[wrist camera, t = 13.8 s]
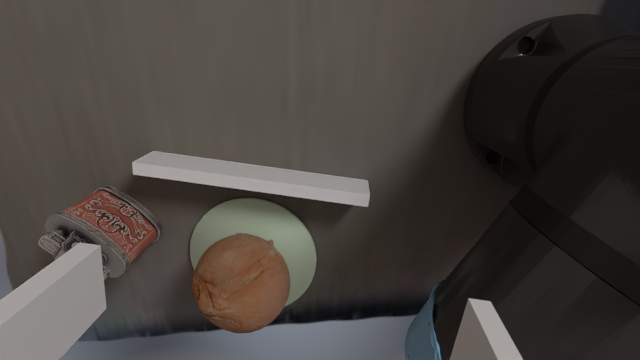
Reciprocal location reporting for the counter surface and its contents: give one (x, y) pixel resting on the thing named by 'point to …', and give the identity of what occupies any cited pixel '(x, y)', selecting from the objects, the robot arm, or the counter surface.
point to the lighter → (103, 229)
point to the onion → (241, 283)
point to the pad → (261, 236)
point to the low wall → (253, 178)
